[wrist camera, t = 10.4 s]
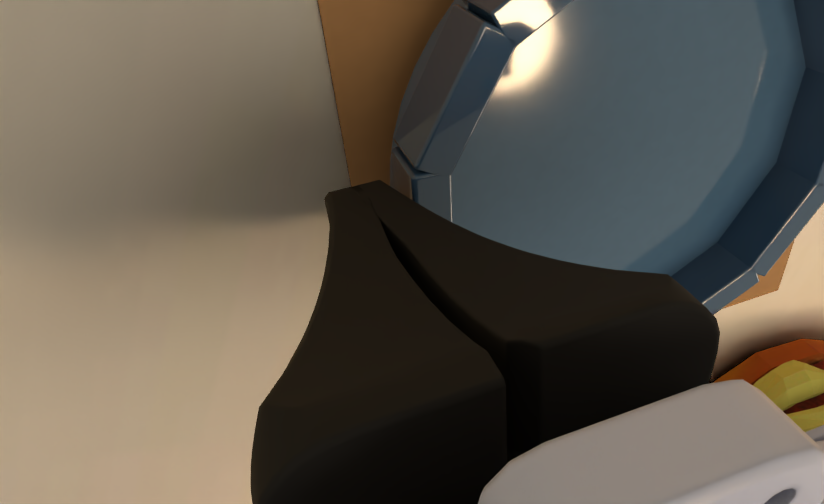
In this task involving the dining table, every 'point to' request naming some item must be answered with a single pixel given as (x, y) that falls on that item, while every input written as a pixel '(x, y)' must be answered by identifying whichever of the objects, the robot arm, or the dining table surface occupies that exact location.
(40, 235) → the dining table surface
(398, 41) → the placemat
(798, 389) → the cheeseburger
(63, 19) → the dining table surface
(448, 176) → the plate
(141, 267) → the dining table surface
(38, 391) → the dining table surface
